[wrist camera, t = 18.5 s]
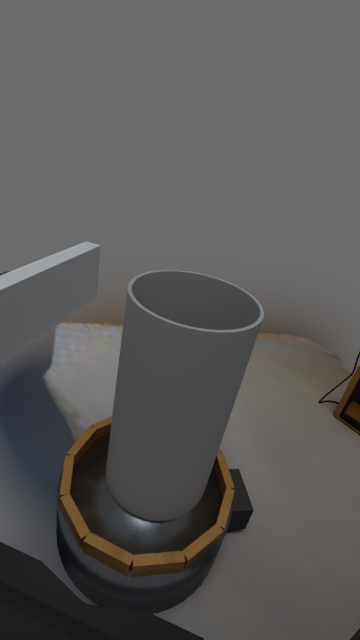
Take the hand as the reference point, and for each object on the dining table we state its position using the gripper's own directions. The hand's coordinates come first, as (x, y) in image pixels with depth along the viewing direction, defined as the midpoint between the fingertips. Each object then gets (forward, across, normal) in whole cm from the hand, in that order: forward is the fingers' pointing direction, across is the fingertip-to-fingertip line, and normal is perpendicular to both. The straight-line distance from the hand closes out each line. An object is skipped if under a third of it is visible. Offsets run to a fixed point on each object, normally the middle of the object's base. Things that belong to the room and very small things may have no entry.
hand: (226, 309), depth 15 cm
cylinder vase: (+14, -4, -31) cm, 34 cm away
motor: (+13, -3, -38) cm, 40 cm away
